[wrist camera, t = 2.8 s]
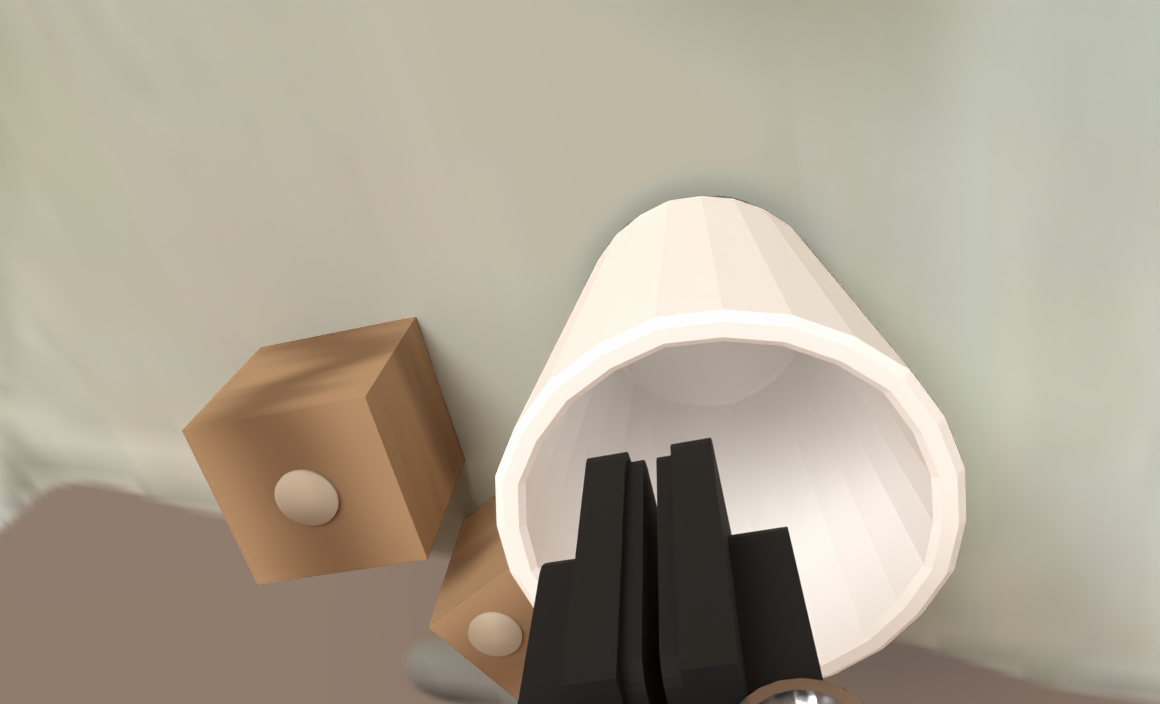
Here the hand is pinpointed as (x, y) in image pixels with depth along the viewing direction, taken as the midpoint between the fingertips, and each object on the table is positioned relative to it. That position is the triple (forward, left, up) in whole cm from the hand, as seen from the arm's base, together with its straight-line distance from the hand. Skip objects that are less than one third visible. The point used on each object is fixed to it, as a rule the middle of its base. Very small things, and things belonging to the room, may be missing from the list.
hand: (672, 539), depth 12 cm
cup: (-4, +2, -19) cm, 19 cm away
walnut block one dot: (+1, +14, -19) cm, 23 cm away
